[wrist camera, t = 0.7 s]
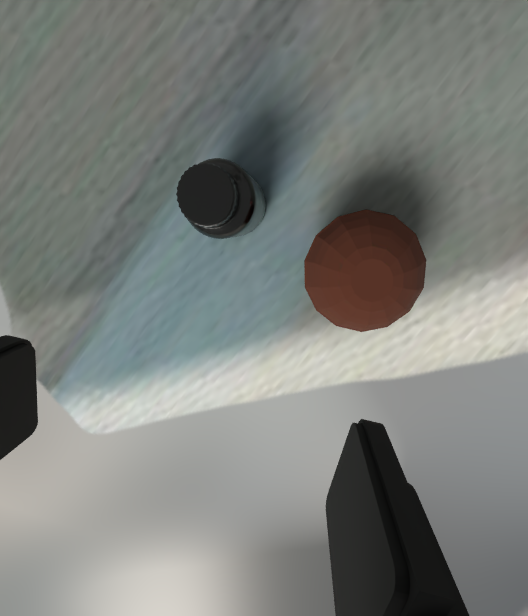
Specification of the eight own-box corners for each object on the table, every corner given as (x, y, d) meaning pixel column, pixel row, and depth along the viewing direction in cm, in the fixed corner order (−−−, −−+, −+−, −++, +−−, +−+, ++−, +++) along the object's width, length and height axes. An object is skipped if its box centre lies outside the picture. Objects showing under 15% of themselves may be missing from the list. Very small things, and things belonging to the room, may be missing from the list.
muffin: (286, 240, 35) (282, 247, 26) (377, 192, 33) (410, 180, 23) (329, 327, 38) (339, 363, 28) (417, 288, 35) (462, 313, 26)
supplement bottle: (277, 192, 34) (266, 177, 22) (248, 246, 36) (225, 258, 24) (223, 160, 34) (185, 129, 22) (198, 217, 36) (150, 215, 24)
